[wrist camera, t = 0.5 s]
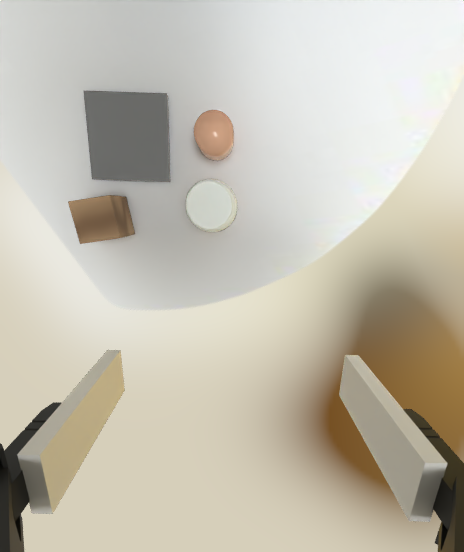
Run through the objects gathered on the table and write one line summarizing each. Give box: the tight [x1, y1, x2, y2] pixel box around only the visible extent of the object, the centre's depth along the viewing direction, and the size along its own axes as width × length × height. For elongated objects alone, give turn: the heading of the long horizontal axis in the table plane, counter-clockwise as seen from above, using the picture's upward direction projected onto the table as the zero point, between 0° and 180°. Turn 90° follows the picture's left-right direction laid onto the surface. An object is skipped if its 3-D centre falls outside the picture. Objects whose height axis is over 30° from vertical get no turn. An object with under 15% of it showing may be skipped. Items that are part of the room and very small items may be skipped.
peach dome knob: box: [194, 110, 233, 161], centre depth 31 cm, size 4×4×4 cm
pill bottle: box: [186, 179, 237, 232], centre depth 31 cm, size 6×6×10 cm
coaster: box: [84, 91, 170, 182], centre depth 33 cm, size 10×10×1 cm
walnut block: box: [68, 195, 135, 244], centre depth 34 cm, size 5×5×5 cm
